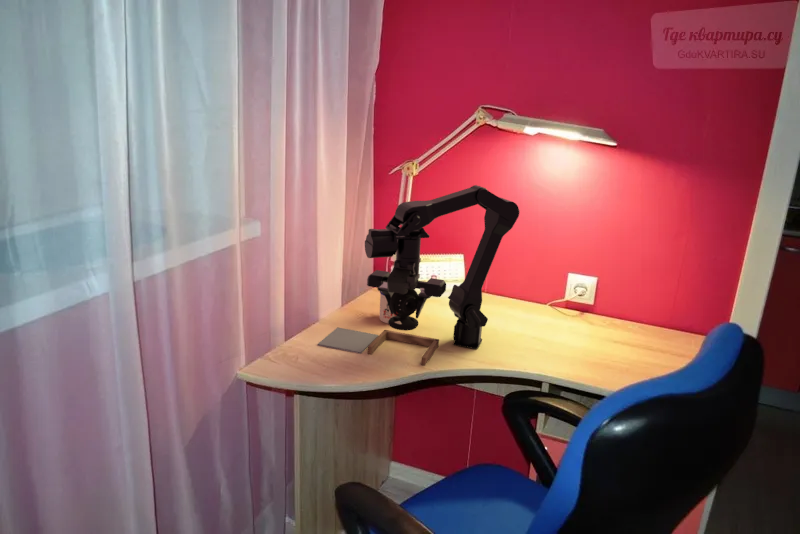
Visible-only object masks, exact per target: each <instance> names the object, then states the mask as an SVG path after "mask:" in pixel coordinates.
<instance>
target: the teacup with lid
mask: <svg viewBox="0 0 800 534" xmlns="http://www.w3.org/2000/svg"><path fill="white" fill-rule="evenodd" d="M379 293H380V295H379V296H380V297H379V316H378V317H379V320H380V321H381V322H383V323H385V324H387V325H389V323H388V321H389V319H390V318H392V317H394V316H396V315H395V314H391V312H390V309H389V305H388V302H387V300H386V297H385V295H384V294H383V293H382V292H381V291H379ZM415 312H416V310H415ZM396 313H397V312H396ZM397 314H398V313H397ZM395 323H397V324H402V323H401V322H400V321H397V322H395Z"/></svg>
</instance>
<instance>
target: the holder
mask: <svg viewBox="0 0 800 534" xmlns="http://www.w3.org/2000/svg"><path fill="white" fill-rule="evenodd" d="M378 335H379V336H378V337H377V338H376V339H375V340H374V341H373V342H372V343H371V344H370V345H369V346H368V347H367V355H373V354H374V352H375V351H376V350H378V348H379V347H380V346H381V345H382V344H383V343H384V342H385V341H386V340H387V339H388V340H393V341H398V342H403V343H408V344H415V345H420V346H425V347H428V348H427V349H426V351H425V352H424V353H423V354H422V355H421V360H420V361H421V363H420V365H422V366H427V364H428V362H429V361H430V360H431V358H432V356H433V355H435V352H436V351H437V349H438V348H439V344H440V339H439V338H432V337H427V336H423V335H422V336H421V335H416V334H413V333H412V334H411V333H405V332H399V331H394V330H388V329H384V330H382V332H380V334H378Z"/></svg>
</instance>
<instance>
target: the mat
mask: <svg viewBox="0 0 800 534" xmlns="http://www.w3.org/2000/svg"><path fill="white" fill-rule="evenodd" d="M379 335H380V334H376V333H370V332H364V331H361V330H354V329H350V328H343V327H336V328H334V330H333V331H331V332H330V333H329V334H328V335H326V336H325V337H324V338H323V339H321V340H320V341H318V343H317V346H320V347H326V348H329V349H330V348H331V349H335V350H341V351H345V352H350V353H356V354H360V355H361V354H363V353H364V352H365V351H366V350H367V349H368V346H369V345H370V344H371V343H372V342H373V341H374V340H375V339H376V338H377V337H378V336H379Z"/></svg>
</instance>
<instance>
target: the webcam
mask: <svg viewBox="0 0 800 534" xmlns="http://www.w3.org/2000/svg"><path fill="white" fill-rule="evenodd" d="M418 294H419V293H418V292H417V291H416V289H410V290H409V289H408V292H407V293H406V294H400V293H395V292H394V293H393V295H392V297H391V300H390V308H391V310H392V312H393V313H394V314H395V315H396V316H394V317H392V318H390V319H389V321H388V323H389V324H388V326H389V327H391V328H392V329H395V330H398V331H412V330H415V329H416V328H417V327H419V320H418V318H416V317H413V316H411V315H413V314H414V313H416V311H415V310H416V308H417V302H418V298H417V295H418ZM396 312H397V313H398V314H397V313H396ZM397 321H400V322H401V323H402V324H397V323H395V322H397Z"/></svg>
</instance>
